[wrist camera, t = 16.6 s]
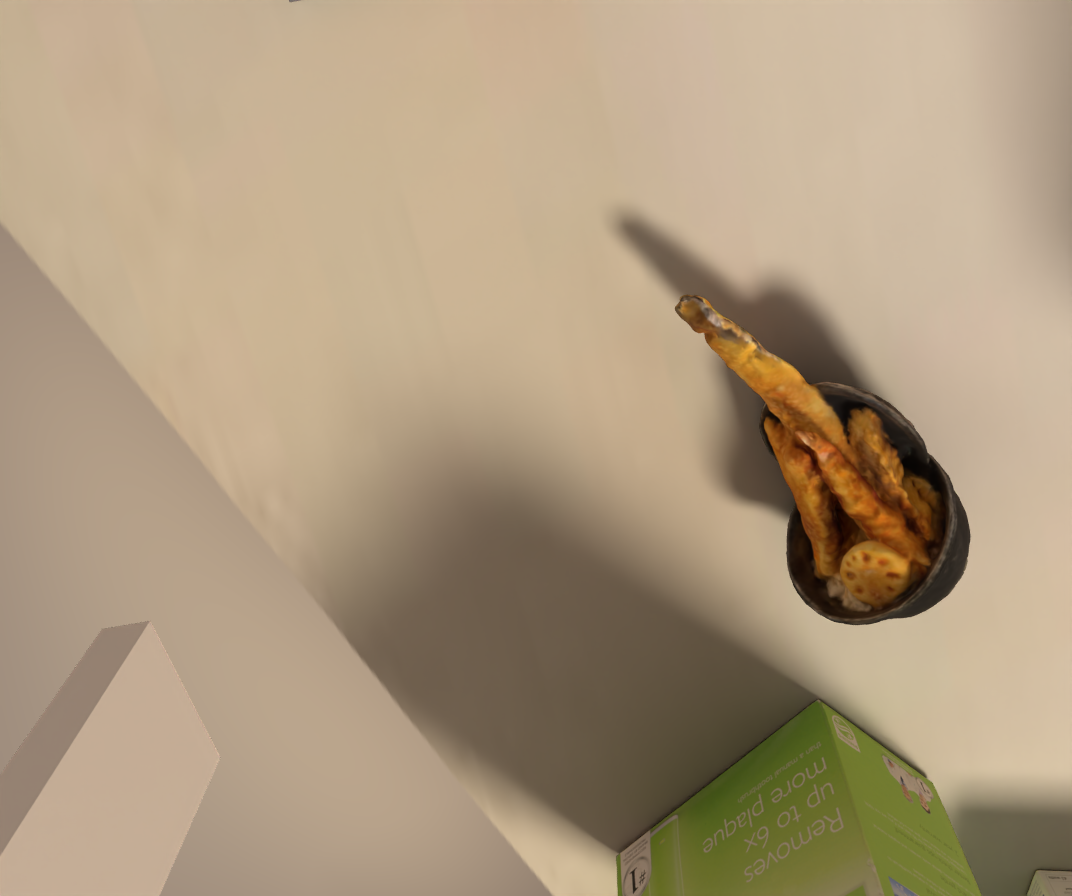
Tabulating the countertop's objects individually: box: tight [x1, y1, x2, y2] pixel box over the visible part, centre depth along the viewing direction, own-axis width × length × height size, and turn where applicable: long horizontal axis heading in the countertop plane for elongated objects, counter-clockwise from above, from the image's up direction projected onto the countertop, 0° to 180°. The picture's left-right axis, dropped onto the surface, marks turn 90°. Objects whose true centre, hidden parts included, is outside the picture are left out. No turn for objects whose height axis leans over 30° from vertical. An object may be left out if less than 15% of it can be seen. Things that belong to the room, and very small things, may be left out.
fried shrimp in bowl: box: [675, 295, 970, 625], centre depth 42 cm, size 9×11×18 cm
